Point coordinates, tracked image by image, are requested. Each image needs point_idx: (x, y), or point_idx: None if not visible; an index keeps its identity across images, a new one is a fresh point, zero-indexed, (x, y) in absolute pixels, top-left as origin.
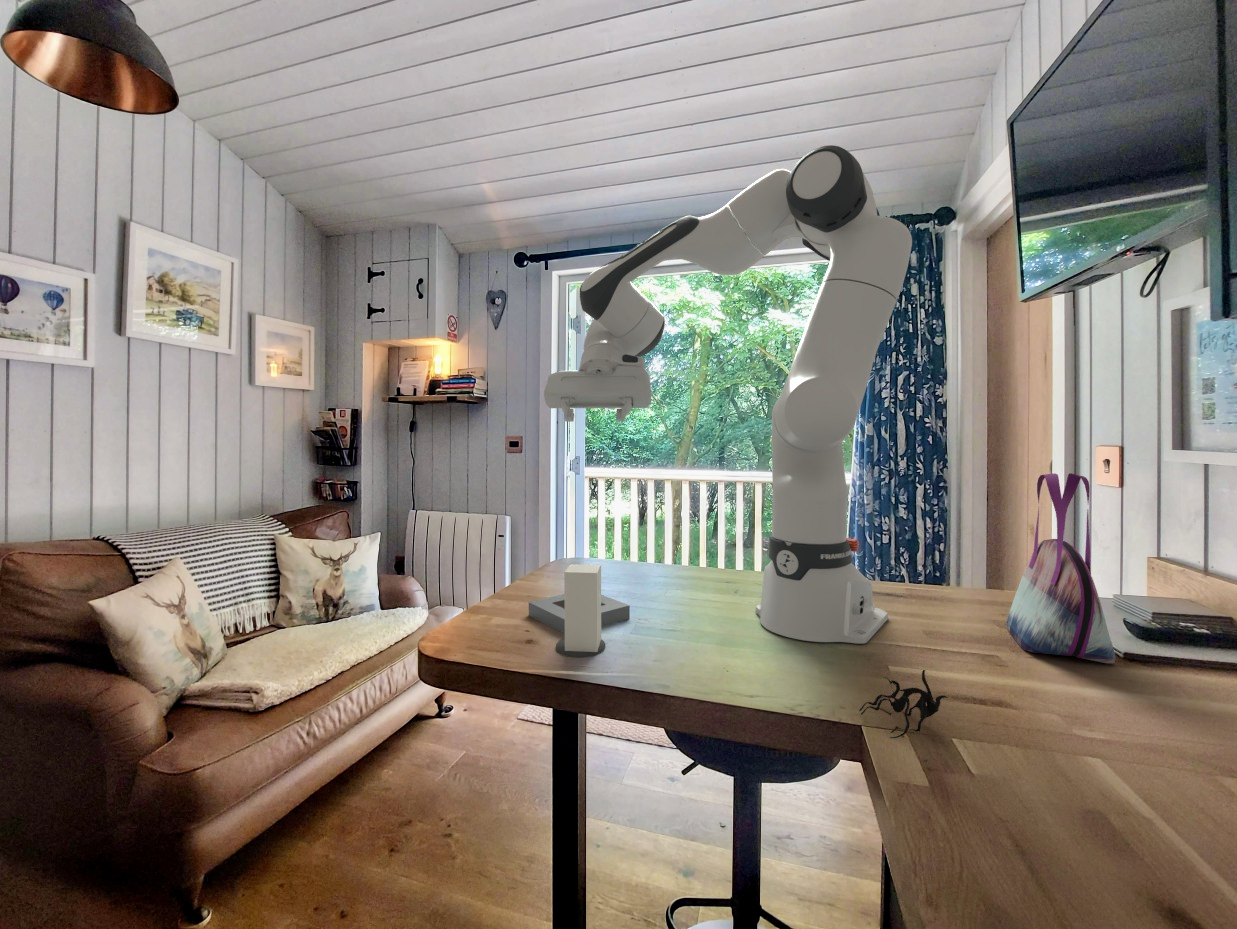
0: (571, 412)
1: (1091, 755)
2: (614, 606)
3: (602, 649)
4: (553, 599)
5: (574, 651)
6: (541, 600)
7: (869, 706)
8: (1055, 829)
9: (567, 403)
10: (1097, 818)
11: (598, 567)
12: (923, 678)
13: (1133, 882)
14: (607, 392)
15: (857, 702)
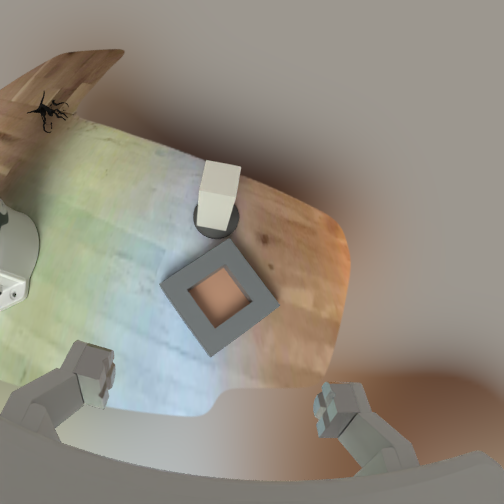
0: (336, 391)
1: (11, 102)
2: (177, 281)
3: (197, 204)
4: (251, 314)
5: None
6: (266, 310)
7: (63, 113)
8: (65, 70)
9: (378, 453)
10: (48, 74)
11: (203, 179)
12: (31, 111)
13: (68, 58)
14: (134, 479)
15: (56, 133)
